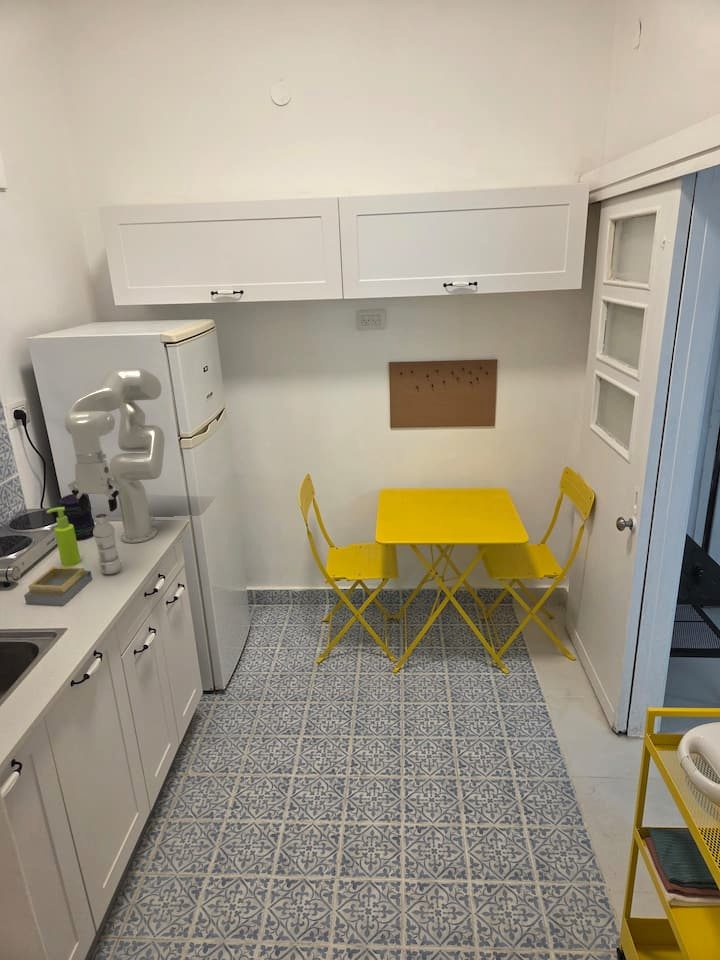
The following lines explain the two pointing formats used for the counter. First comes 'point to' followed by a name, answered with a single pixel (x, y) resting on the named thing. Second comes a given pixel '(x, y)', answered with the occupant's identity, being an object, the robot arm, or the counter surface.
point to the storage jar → (78, 516)
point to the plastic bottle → (106, 545)
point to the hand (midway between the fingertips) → (99, 509)
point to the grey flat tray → (57, 586)
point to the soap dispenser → (66, 539)
